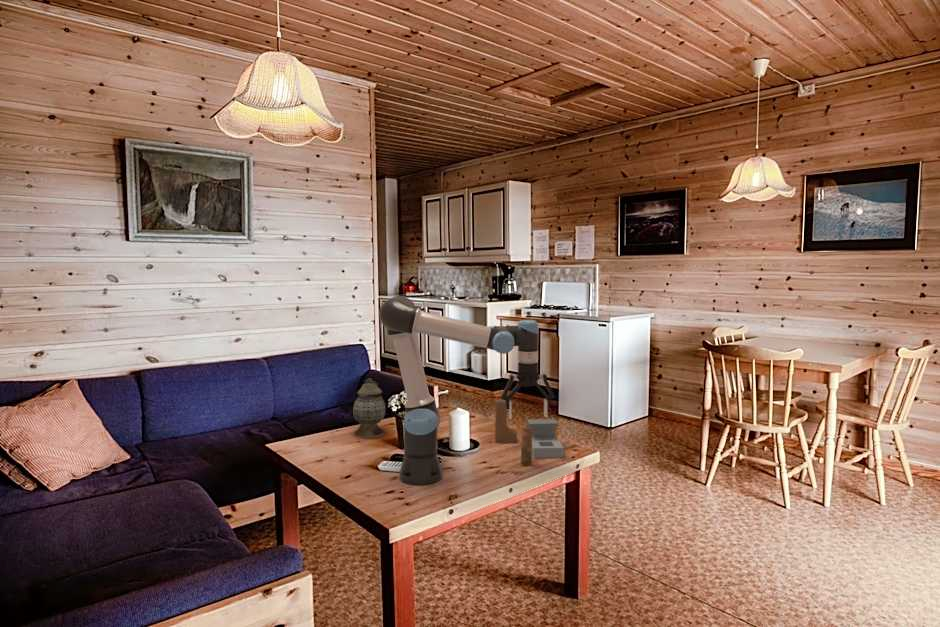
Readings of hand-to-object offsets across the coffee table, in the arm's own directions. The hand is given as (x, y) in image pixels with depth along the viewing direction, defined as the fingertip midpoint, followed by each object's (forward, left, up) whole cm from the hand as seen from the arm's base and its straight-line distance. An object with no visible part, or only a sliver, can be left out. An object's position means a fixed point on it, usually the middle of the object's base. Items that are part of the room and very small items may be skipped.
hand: (527, 417), depth 215 cm
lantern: (-63, +42, -19) cm, 78 cm away
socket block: (+10, +14, -18) cm, 25 cm away
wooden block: (-4, +27, -19) cm, 33 cm away
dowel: (0, 0, -18) cm, 18 cm away
